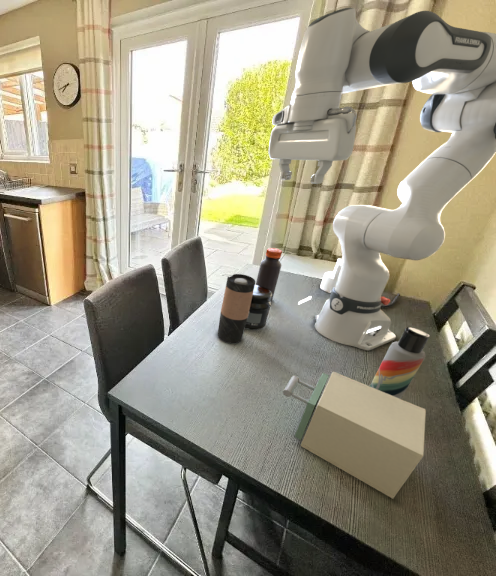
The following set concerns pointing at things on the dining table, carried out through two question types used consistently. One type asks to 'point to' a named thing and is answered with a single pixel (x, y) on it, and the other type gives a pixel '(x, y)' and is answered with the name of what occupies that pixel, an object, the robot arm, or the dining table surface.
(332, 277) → the cylinder with rectangular tab
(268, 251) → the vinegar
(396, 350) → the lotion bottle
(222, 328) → the travel mug
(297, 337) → the dining table surface
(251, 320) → the supplement container
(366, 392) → the matchbox drawer box
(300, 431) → the green pull-out drawer
